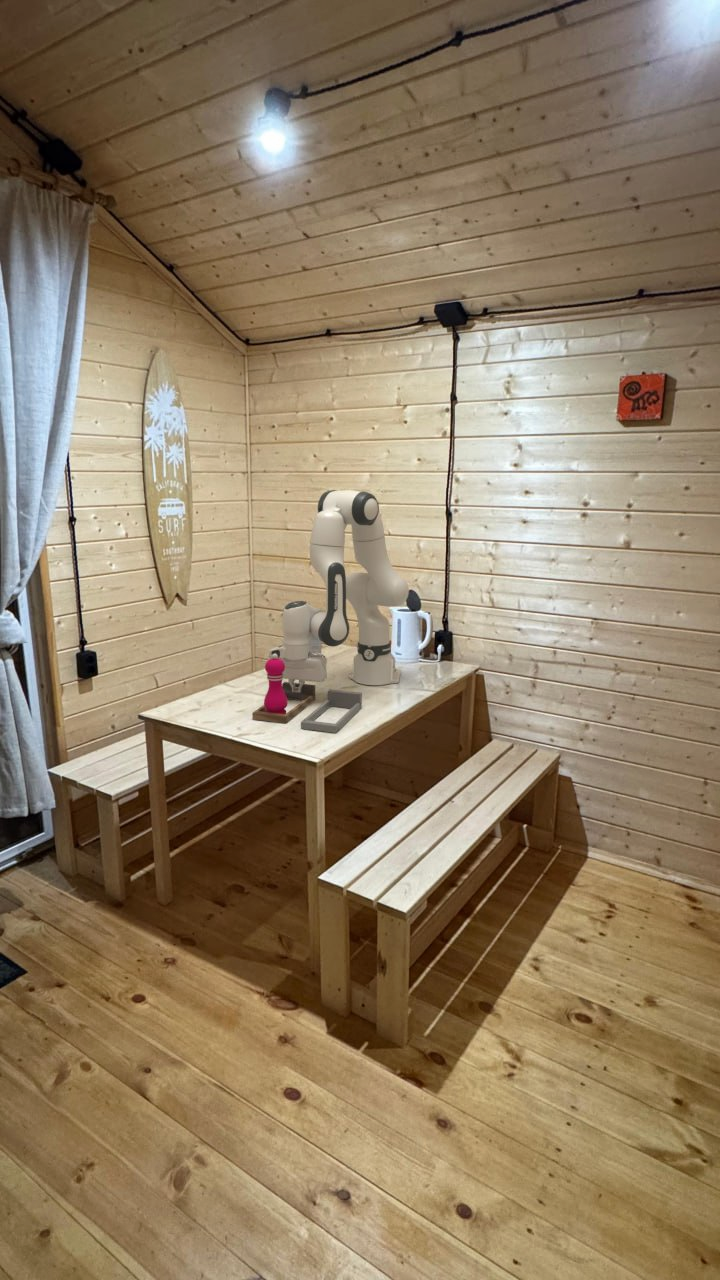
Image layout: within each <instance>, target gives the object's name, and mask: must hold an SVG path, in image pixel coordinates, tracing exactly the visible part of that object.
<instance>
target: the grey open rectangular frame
mask: <svg viewBox="0 0 720 1280" xmlns="http://www.w3.org/2000/svg"><path fill="white" fill-rule="evenodd" d="M326 695H327V700H325V701H324V702H323V703H322V704H321V705H320V706H318V707H317V708H315V710H313V711H312V712H311V713H309V715H307V716H306V717H304V719H302V721H300V729H303V730H308V731H309V730H311V731H317V732H326V733H334V734H337V733H338V732H339V731H340V730H341V729H342V728H343V726H345V724H347V723H348V722H349V721H350V720H351V719H352V718H353V717H354V716H355V715H356V714H357V713H358V712H359V711H360V710H361V709H362V707H363V692H359V691H353V690H352V691H351V690H342V689H332V688H329V689H328V690H327V694H326ZM330 707H335V708H342V709H343V708H345V709H349V710H348V711H347V712H345V713H344V715H342V717H341V718H340V719H338V720H337V721H336V723H335V722H334V723H333V722H324V721H318V720H317V721H316V719H317V718H318V717H320V716H321V715H322V714H323V713H324V712H325V711H327V710H328V709H329V708H330Z"/></svg>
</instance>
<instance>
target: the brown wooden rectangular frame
mask: <svg viewBox="0 0 720 1280" xmlns="http://www.w3.org/2000/svg"><path fill="white" fill-rule="evenodd" d="M294 683H295V686H299V685H300V683H299V682H298V683H297V682H294ZM282 688H283V691H284V693H285V695H286V697H287V700H298V701H301V702H299V703H298V704H297V705H296V706H294V707H293V708H292V709H291V710H289V711H288V712H286V714H277V713H269V712H266V710H267V709H266V707H265V706H264V704H263V705H262V706H260V707H259V708H258V709H255V711H253V712H252V720H256V721H265V722H272V723H281V724H287V723H288V722H290V720H292V719H293V718H294V717H296V716H297V715H298V714H300V713H301V711H303V710H304V709H306V708H307V707H308V706H310V704H312V703H313V702H314V701H315V700H316V684H307V683H304V685H303V686H302V692H301V693H296V692H292V687H291V686H290V684H289V681H284V682H282Z"/></svg>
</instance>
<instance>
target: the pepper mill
mask: <svg viewBox="0 0 720 1280" xmlns="http://www.w3.org/2000/svg"><path fill="white" fill-rule="evenodd" d="M264 669H265V673H266V679H267V680H268V688H267V692H266V694H265V697H264V700H263V701H264V702H263V705H264V706H265V707H266V709H267V710H266V712H269V713H277V714H287V710H286V707H288V703H289V702H288V698H287V697H286V695H285V693H284V691H283V688H282V683H283V678H284V677H283V671H284V670H285V664H284V662H283V661H282V660H281V659H278V655H277V654H273V655H272V659H269V660H268V659H267V661H266V663H265V665H264ZM267 673H268V674H267Z"/></svg>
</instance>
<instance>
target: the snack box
mask: <svg viewBox="0 0 720 1280" xmlns="http://www.w3.org/2000/svg"><path fill="white" fill-rule="evenodd" d="M310 653H317V654H318V653H320V654H322V641H320V640H318V639H316V638H312V639H311V640H310Z"/></svg>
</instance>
